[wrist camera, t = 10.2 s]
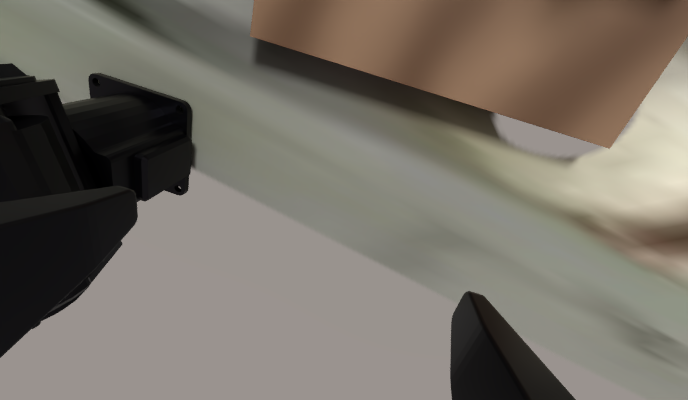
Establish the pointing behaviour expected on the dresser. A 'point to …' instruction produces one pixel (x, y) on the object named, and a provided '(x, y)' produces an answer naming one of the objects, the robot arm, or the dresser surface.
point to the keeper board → (497, 51)
